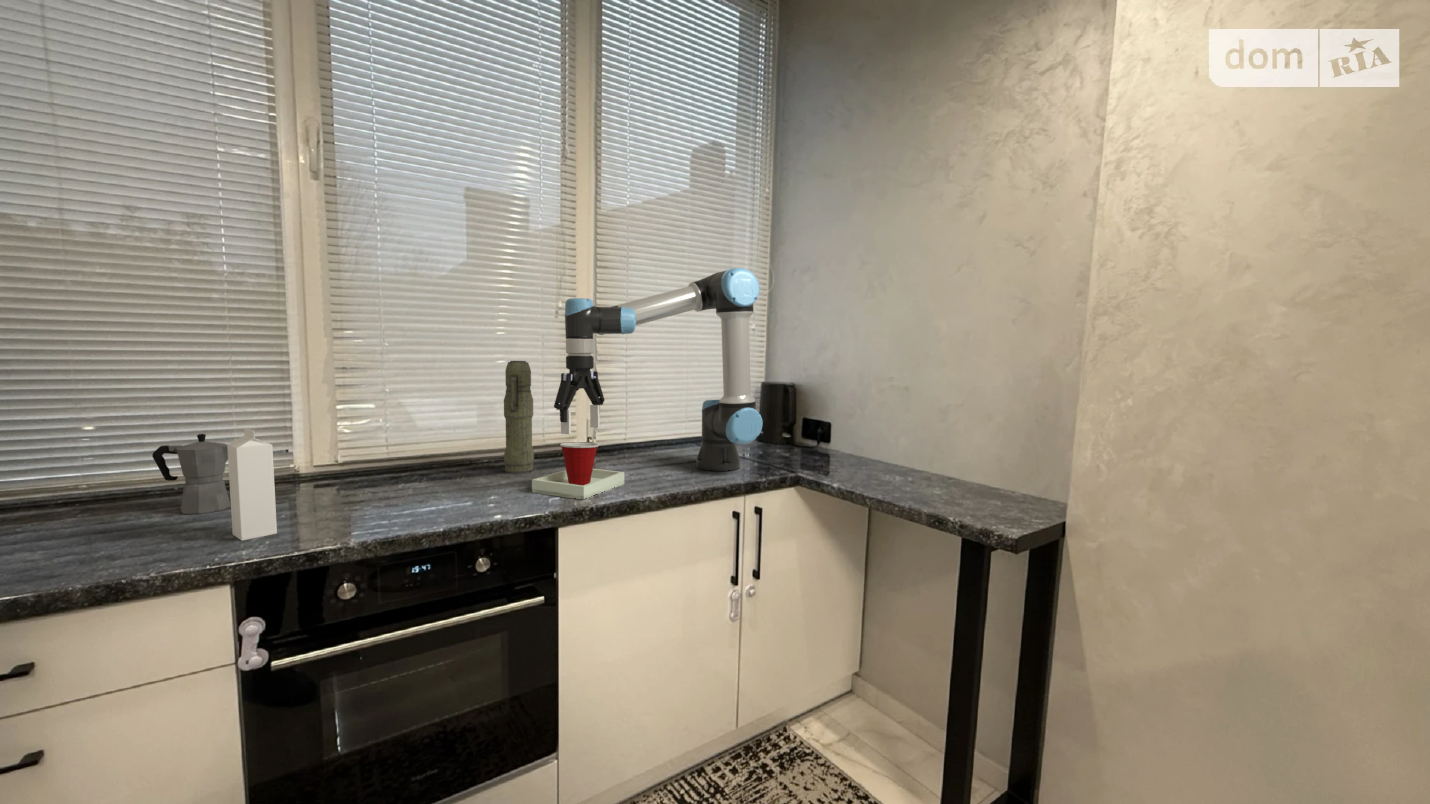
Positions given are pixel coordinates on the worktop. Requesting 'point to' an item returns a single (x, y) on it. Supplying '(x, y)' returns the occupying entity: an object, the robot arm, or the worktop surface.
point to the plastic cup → (579, 461)
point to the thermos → (518, 418)
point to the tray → (560, 486)
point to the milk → (251, 487)
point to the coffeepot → (199, 474)
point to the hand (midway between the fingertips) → (581, 430)
